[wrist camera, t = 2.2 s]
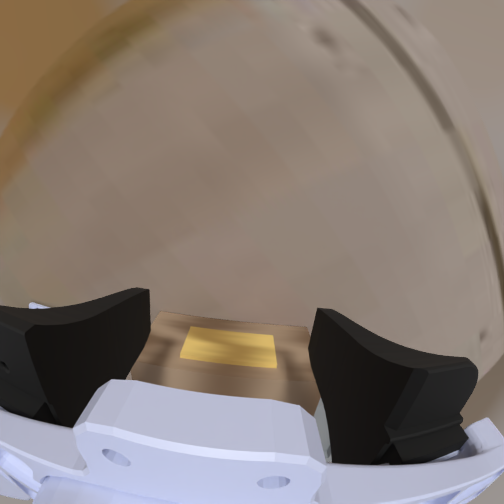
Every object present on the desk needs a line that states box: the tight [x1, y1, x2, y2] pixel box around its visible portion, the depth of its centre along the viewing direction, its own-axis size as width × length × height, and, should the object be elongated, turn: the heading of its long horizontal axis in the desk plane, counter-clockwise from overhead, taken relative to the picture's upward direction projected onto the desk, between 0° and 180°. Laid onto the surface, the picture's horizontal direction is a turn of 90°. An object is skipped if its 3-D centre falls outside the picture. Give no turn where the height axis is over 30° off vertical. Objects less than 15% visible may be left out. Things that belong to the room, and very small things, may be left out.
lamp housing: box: [131, 311, 321, 416], centre depth 19 cm, size 12×5×7 cm, turn 84°
